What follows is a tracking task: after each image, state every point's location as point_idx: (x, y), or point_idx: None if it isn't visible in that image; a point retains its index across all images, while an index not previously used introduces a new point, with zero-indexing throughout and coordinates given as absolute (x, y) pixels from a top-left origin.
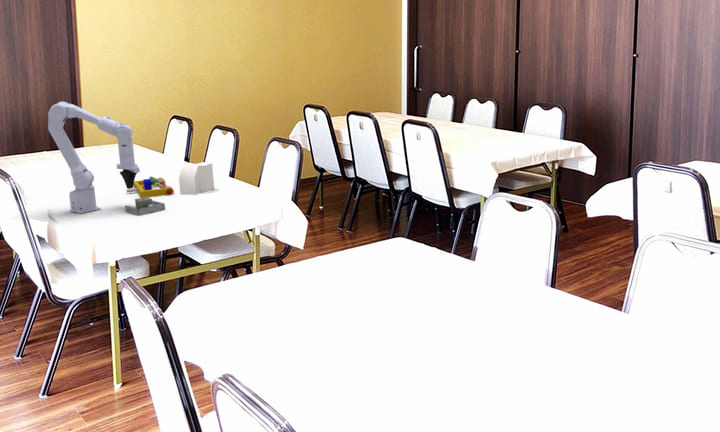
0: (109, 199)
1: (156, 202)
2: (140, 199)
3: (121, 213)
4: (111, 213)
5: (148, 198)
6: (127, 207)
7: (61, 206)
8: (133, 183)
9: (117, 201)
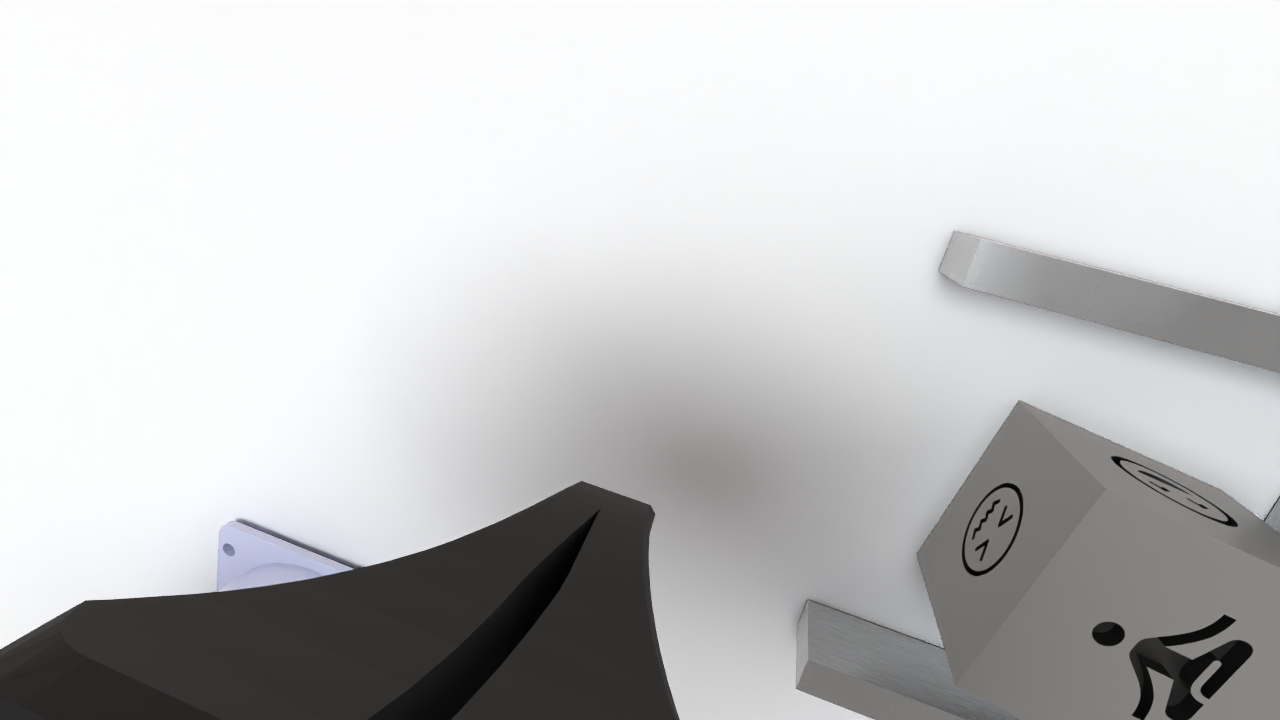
0: (92, 168)
1: (1258, 366)
2: (1116, 702)
3: (805, 695)
4: (680, 713)
5: (1266, 602)
6: (872, 706)
7: (15, 579)
8: (648, 568)
9: (255, 211)
